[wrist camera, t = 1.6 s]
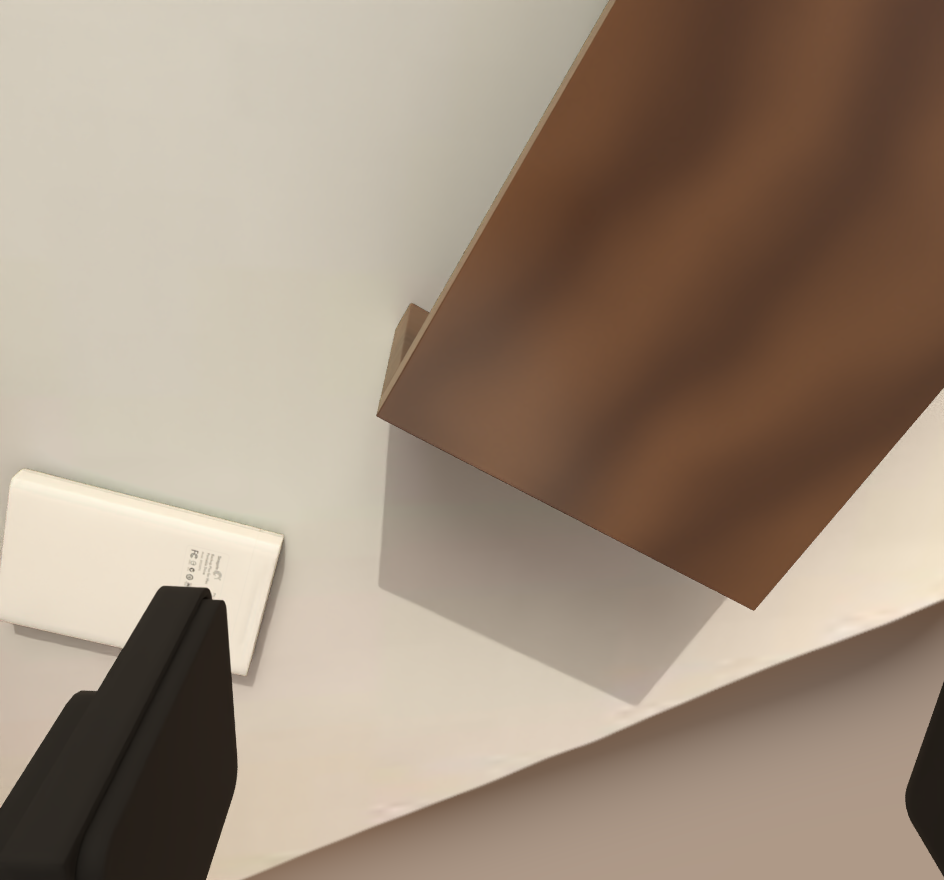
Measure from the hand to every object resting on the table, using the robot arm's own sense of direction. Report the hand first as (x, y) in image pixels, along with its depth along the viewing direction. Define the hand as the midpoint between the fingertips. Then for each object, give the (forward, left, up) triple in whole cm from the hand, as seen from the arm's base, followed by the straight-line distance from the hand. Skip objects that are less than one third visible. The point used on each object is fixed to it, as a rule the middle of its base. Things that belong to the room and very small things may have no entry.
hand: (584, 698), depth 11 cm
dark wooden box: (+6, +5, -28) cm, 29 cm away
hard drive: (-7, -22, -28) cm, 36 cm away
